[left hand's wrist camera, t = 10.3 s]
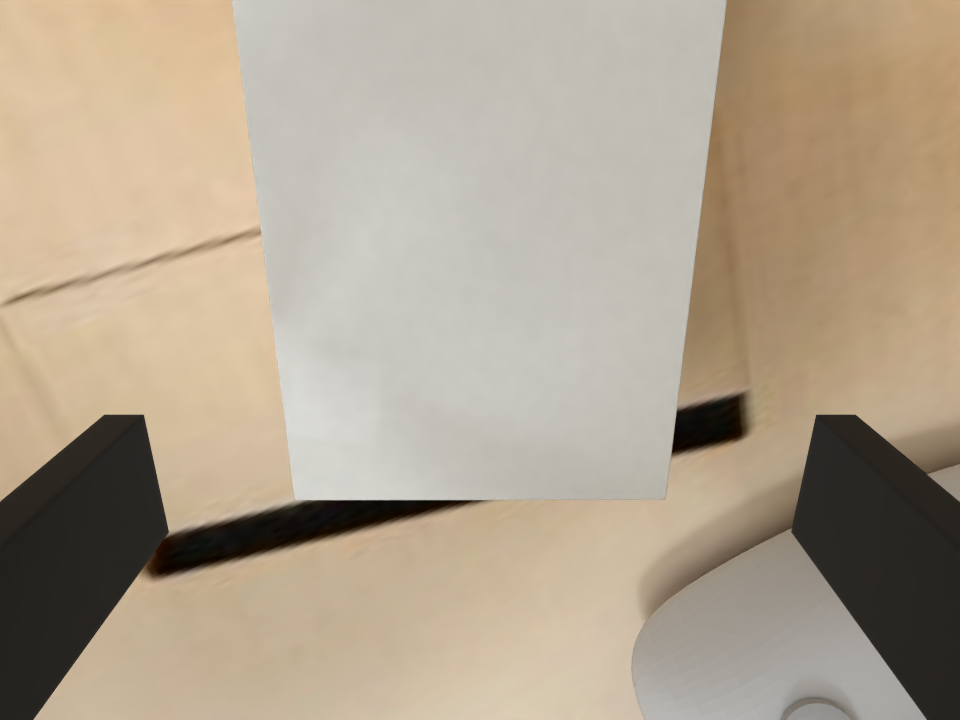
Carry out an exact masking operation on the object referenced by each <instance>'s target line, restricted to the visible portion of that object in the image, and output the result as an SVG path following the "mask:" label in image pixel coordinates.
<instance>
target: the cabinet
mask: <svg viewBox="0 0 960 720" xmlns="http://www.w3.org/2000/svg"><path fill="white" fill-rule="evenodd" d="M726 4H727V0H232V5H233V12H234V20H235V28H236V36H237V44H238V52H239V60H240V68H241V76H242V84H243V92H244V100H245V108H246V116H247V124H248V132H249V140H250V148H251V156H252V164H253V172H254V180H255V188H256V196H257V204H258V212H259V219H260V227H261V235H262V243H263V251H264V259H265V267H266V275H267V283H268V291H269V299H270V307H271V315H272V323H273V331H274V339H275V347H276V355H277V363H278V371H279V379H280V387H281V395H282V403H283V411H284V419H285V427H286V434H287V442H288V450H289V458H290V466H291V474H292V482H293V490H294V498H295V500H664V499H666V493H667V485H668V477H669V468H670V460H671V452H672V444H673V436H674V428H675V420H676V411H677V403H678V395H679V387H680V379H681V371H682V363H683V354H684V346H685V338H686V330H687V322H688V314H689V306H690V297H691V289H692V281H693V273H694V265H695V257H696V249H697V240H698V232H699V224H700V216H701V208H702V200H703V192H704V183H705V175H706V167H707V159H708V151H709V143H710V135H711V126H712V118H713V110H714V102H715V94H716V86H717V78H718V69H719V61H720V53H721V45H722V37H723V29H724V21H725V13H726Z"/></svg>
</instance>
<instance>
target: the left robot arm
mask: <svg viewBox="0 0 960 720" xmlns="http://www.w3.org/2000/svg"><path fill="white" fill-rule="evenodd" d="M168 533H169V531H168V526H167V521H166V517H165V512H164V507H163V503H162V498H161V493H160V489H159V484H158V479H157V475H156V470H155V465H154V461H153V456H152V451H151V447H150V442H149V437H148V433H147V428H146V423H145V419H144V415H104V416H102V417H101V418H100V419H99V420H98V421H96V422H95V423H94V424H93V425H92V426H90V427H89V428H88V429H87V430H86V431H84V432H83V433H82V434H81V435H80V436H78V437H77V438H76V439H75V440H74V441H72V442H71V443H70V444H69V445H68V446H66V447H65V448H64V449H63V450H62V451H60V452H59V453H58V454H57V455H56V456H54V457H53V458H52V459H51V460H50V461H48V462H47V463H46V464H45V465H44V466H42V467H41V468H40V469H39V470H38V471H36V472H35V473H34V474H33V475H32V476H30V477H29V478H28V479H27V480H26V481H24V482H23V483H22V484H21V485H20V486H18V487H17V488H16V489H15V490H14V491H13V492H11V493H10V494H9V495H8V496H7V497H5V498H4V499H3V500H2V501H1V502H0V720H33V719H34V718H35V717H36V715H37V714H38V712H39V711H40V710H41V708H42V707H43V706H44V704H45V703H46V701H47V700H48V699H49V697H50V696H51V694H52V693H53V692H54V690H55V689H56V688H57V686H58V685H59V683H60V682H61V681H62V679H63V678H64V676H65V675H66V674H67V672H68V671H69V670H70V668H71V667H72V665H73V664H74V663H75V661H76V660H77V659H78V657H79V656H80V654H81V653H82V652H83V650H84V649H85V647H86V646H87V645H88V643H89V642H90V641H91V639H92V638H93V636H94V635H95V634H96V632H97V631H98V629H99V628H100V627H101V625H102V624H103V623H104V621H105V620H106V618H107V617H108V616H109V614H110V613H111V611H112V610H113V609H114V607H115V606H116V605H117V603H118V602H119V600H120V599H121V598H122V596H123V595H124V593H125V592H126V591H127V589H128V588H129V587H130V585H131V584H132V582H133V581H134V580H135V578H136V577H137V575H138V574H139V573H140V571H141V570H142V569H143V567H144V566H145V564H146V563H147V562H148V560H149V559H150V558H151V556H152V555H153V553H154V552H155V551H156V549H157V548H158V546H159V545H160V544H161V542H162V541H163V540H164V538H165V537H166V535H167V534H168ZM791 533H792V534H793V535H794V537H795V538H796V540H797V541H798V542H799V544H800V545H801V546H802V548H803V549H804V551H805V552H806V553H807V555H808V556H809V558H810V559H811V560H812V562H813V563H814V564H815V566H816V567H817V569H818V570H819V571H820V573H821V574H822V575H823V577H824V578H825V580H826V581H827V582H828V584H829V585H830V587H831V588H832V589H833V591H834V592H835V593H836V595H837V596H838V598H839V599H840V600H841V602H842V603H843V605H844V606H845V607H846V609H847V610H848V611H849V613H850V614H851V616H852V617H853V618H854V620H855V621H856V623H857V624H858V625H859V627H860V628H861V629H862V631H863V632H864V634H865V635H866V636H867V638H868V639H869V641H870V642H871V643H872V645H873V646H874V647H875V649H876V650H877V652H878V653H879V654H880V656H881V657H882V659H883V660H884V661H885V663H886V664H887V665H888V667H889V668H890V670H891V671H892V672H893V674H894V675H895V676H896V678H897V679H898V681H899V682H900V683H901V685H902V686H903V688H904V689H905V690H906V692H907V693H908V694H909V696H910V697H911V699H912V700H913V701H914V703H915V704H916V706H917V707H918V708H919V710H920V711H921V712H922V714H923V715H924V717H925V718H926V719H927V720H960V502H959V501H958V500H957V499H956V498H955V497H953V496H952V495H951V494H950V493H949V492H947V491H946V490H945V489H944V488H943V487H942V486H940V485H939V484H938V483H937V482H936V481H934V480H933V479H932V478H931V477H930V476H928V475H927V474H926V473H925V472H924V471H922V470H921V469H920V468H919V467H918V466H916V465H915V464H914V463H913V462H912V461H910V460H909V459H908V458H907V457H906V456H904V455H903V454H902V453H901V452H900V451H898V450H897V449H896V448H895V447H894V446H892V445H891V444H890V443H889V442H888V441H886V440H885V439H884V438H883V437H882V436H880V435H879V434H878V433H877V432H876V431H874V430H873V429H872V428H871V427H870V426H868V425H867V424H866V423H865V422H864V421H862V420H861V419H860V418H859V417H858V416H856V415H816V419H815V423H814V428H813V433H812V437H811V442H810V447H809V451H808V456H807V461H806V465H805V470H804V475H803V479H802V484H801V489H800V493H799V498H798V503H797V507H796V512H795V517H794V521H793V526H792V531H791Z"/></svg>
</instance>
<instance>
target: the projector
mask: <svg viewBox="0 0 960 720" xmlns="http://www.w3.org/2000/svg"><path fill="white" fill-rule="evenodd" d="M927 475H928V476H930V477H931V478H932V479H933V480H934V481H936V482H937V483H938V484H939V485H940V486H942V487H943V488H944V489H945V490H946V491H947V492H949V493H950V494H951V495H952V496H953V497H955V498H956V499H957V500H958V501H959V502H960V464H958V465H955V466H951V467H948V468H944V469H941V470H938V471H935V472H932V473H929V474H927ZM791 531H792V528H791V529H789V530H786V531H784V532H782V533H780V534H778V535H776V536H774V537H772V538H770V539H768V540H766V541H764V542H762V543H760V544H758V545H757V546H755V547H753V548H751V549H749V550H747V551H745V552H743V553H742V554H740V555H738V556H736V557H734V558H732V559H731V560H729V561H727V562H725V563H724V564H722V565H720V566H718V567H717V568H715V569H713V570H711V571H710V572H708V573H706V574H705V575H703V576H702V577H700V578H698V579H697V580H695V581H694V582H692V583H691V584H689V585H687V586H686V587H684V588H683V589H682V590H680V591H679V592H678V593H676V594H675V595H673V596H672V597H671V598H669V599H668V600H667V601H666V602H665V603H663V604H662V605H661V606H660V607H659V608H658V609H657V610H656V611H655V612H654V613H653V614H652V615H651V616H650V617H649V619H648V620H647V621H646V623H645V624H644V626H643V627H642V629H641V631H640V633H639V635H638V637H637V639H636V642H635V645H634V649H633V655H632V666H631V669H632V679H633V685H634V689H635V693H636V697H637V700H638V703H639V706H640V709H641V713H642V715H643V717H644V720H927V719H926V718H925V717H924V715H923V714H922V712H921V711H920V710H919V708H918V707H917V706H916V704H915V703H914V701H913V700H912V699H911V697H910V696H909V694H908V693H907V692H906V690H905V689H904V688H903V686H902V685H901V683H900V682H899V681H898V679H897V678H896V676H895V675H894V674H893V672H892V671H891V670H890V668H889V667H888V665H887V664H886V663H885V661H884V660H883V659H882V657H881V656H880V654H879V653H878V652H877V650H876V649H875V647H874V646H873V645H872V643H871V642H870V641H869V639H868V638H867V636H866V635H865V634H864V632H863V631H862V629H861V628H860V627H859V625H858V624H857V623H856V621H855V620H854V618H853V617H852V616H851V614H850V613H849V611H848V610H847V609H846V607H845V606H844V605H843V603H842V602H841V600H840V599H839V598H838V596H837V595H836V593H835V592H834V591H833V589H832V588H831V587H830V585H829V584H828V582H827V581H826V580H825V578H824V577H823V575H822V574H821V573H820V571H819V570H818V569H817V567H816V566H815V564H814V563H813V562H812V560H811V559H810V558H809V556H808V555H807V553H806V552H805V551H804V549H803V548H802V546H801V545H800V544H799V542H798V541H797V540H796V538H795V537H794V535H793V534H792V533H791Z"/></svg>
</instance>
